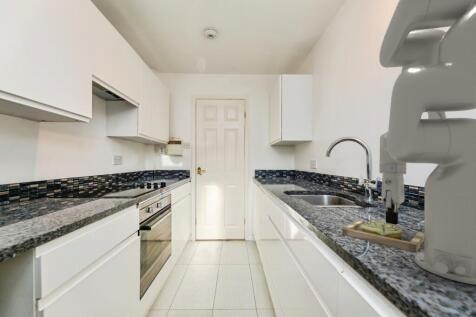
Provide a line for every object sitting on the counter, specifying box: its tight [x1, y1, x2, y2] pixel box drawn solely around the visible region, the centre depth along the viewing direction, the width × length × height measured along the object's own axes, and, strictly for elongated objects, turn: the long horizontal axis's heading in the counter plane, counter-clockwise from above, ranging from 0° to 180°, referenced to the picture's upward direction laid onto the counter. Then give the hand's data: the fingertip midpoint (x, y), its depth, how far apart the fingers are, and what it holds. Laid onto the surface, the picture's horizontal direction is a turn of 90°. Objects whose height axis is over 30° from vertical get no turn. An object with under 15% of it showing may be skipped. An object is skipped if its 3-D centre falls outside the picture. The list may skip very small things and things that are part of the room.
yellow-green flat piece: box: [359, 220, 404, 240], centre depth 69 cm, size 10×11×4 cm
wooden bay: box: [341, 219, 424, 253], centre depth 68 cm, size 16×18×2 cm
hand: (391, 223), depth 76 cm, fingers closed
